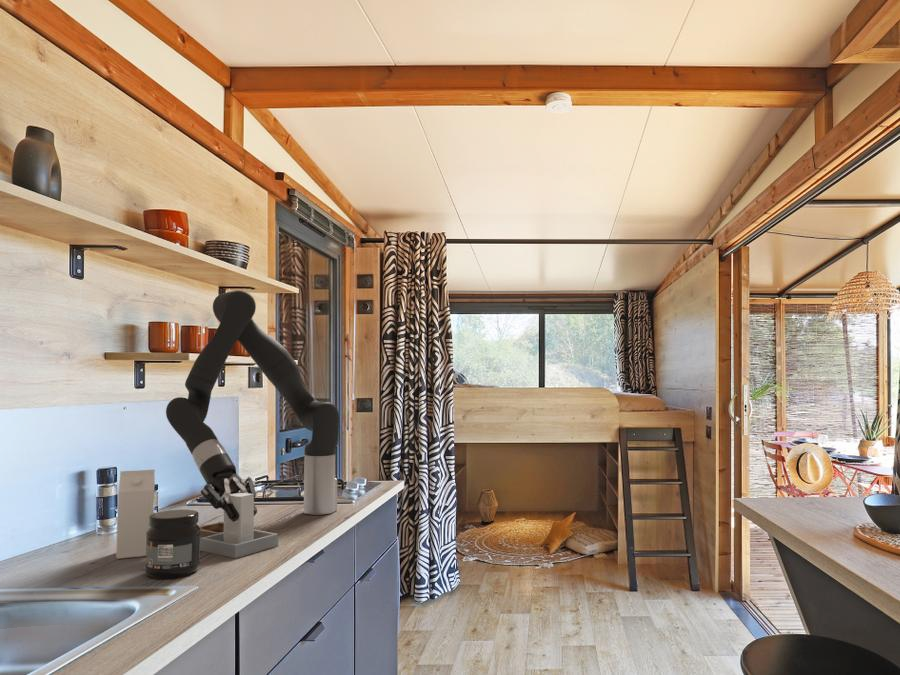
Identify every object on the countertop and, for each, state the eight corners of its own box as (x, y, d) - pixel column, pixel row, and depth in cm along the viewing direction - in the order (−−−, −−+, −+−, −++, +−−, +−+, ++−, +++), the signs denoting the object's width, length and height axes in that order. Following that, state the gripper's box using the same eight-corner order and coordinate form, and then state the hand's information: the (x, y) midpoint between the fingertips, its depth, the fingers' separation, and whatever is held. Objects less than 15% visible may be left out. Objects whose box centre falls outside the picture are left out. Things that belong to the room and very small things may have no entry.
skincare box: (254, 544, 150) (254, 493, 151) (240, 548, 146) (240, 496, 147) (236, 542, 153) (237, 491, 154) (222, 545, 149) (223, 494, 150)
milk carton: (118, 551, 147) (121, 469, 148) (152, 548, 150) (155, 467, 151) (116, 559, 140) (119, 473, 142) (151, 556, 143) (153, 471, 144)
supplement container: (188, 562, 139) (190, 506, 139) (207, 572, 131) (209, 514, 132) (137, 572, 131) (139, 513, 132) (154, 583, 124) (156, 521, 124)
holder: (220, 531, 167) (220, 521, 167) (248, 536, 161) (248, 526, 161) (190, 538, 159) (190, 528, 159) (218, 544, 153) (218, 534, 153)
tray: (243, 538, 159) (243, 527, 159) (278, 545, 152) (278, 533, 152) (199, 550, 148) (199, 538, 148) (235, 558, 141) (235, 545, 141)
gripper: (195, 455, 149) (228, 512, 142) (244, 449, 161) (276, 502, 154) (181, 475, 152) (212, 533, 145) (230, 468, 164) (261, 521, 157)
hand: (245, 516), depth 149 cm, fingers open, 4 cm apart
